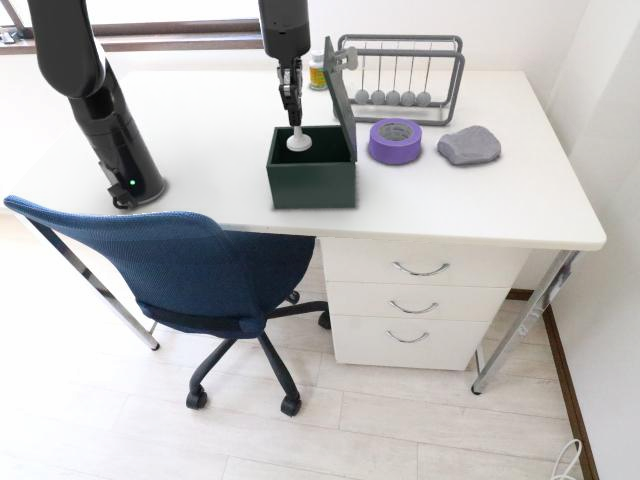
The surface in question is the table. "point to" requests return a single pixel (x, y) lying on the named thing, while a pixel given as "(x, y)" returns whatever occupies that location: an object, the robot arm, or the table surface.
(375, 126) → the tape roll
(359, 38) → the newton's cradle
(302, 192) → the waste bin
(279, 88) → the robot arm
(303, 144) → the chess piece
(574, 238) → the table surface
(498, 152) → the stone block
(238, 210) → the table surface
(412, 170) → the table surface
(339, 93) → the bin lid
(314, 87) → the supplement bottle
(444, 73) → the table surface
